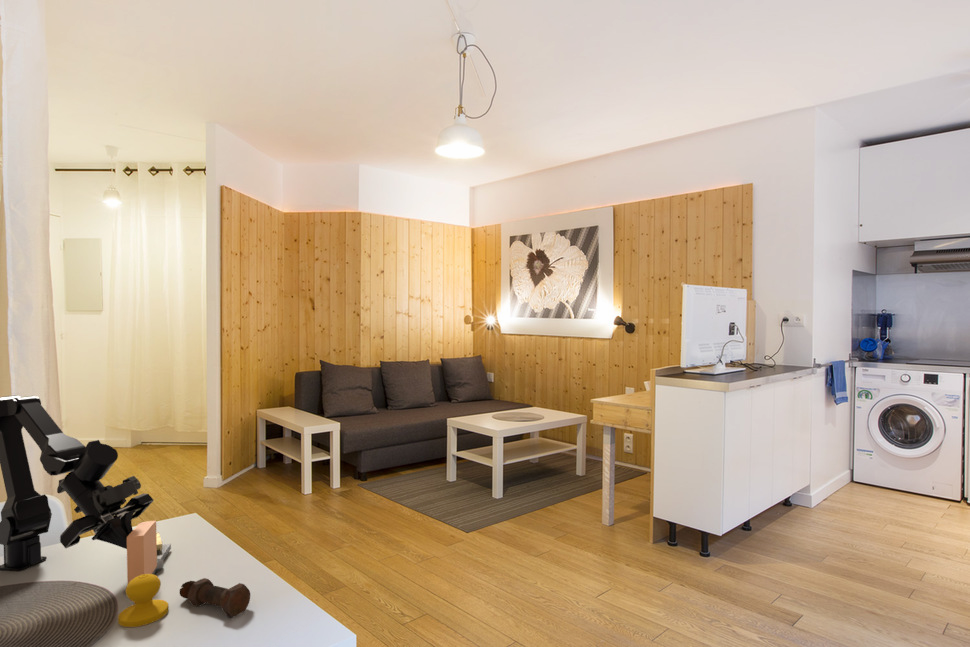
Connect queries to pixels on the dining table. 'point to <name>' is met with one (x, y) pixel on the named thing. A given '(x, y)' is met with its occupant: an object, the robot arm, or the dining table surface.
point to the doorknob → (143, 602)
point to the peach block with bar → (144, 551)
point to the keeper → (158, 541)
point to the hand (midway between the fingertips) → (134, 548)
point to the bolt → (217, 596)
